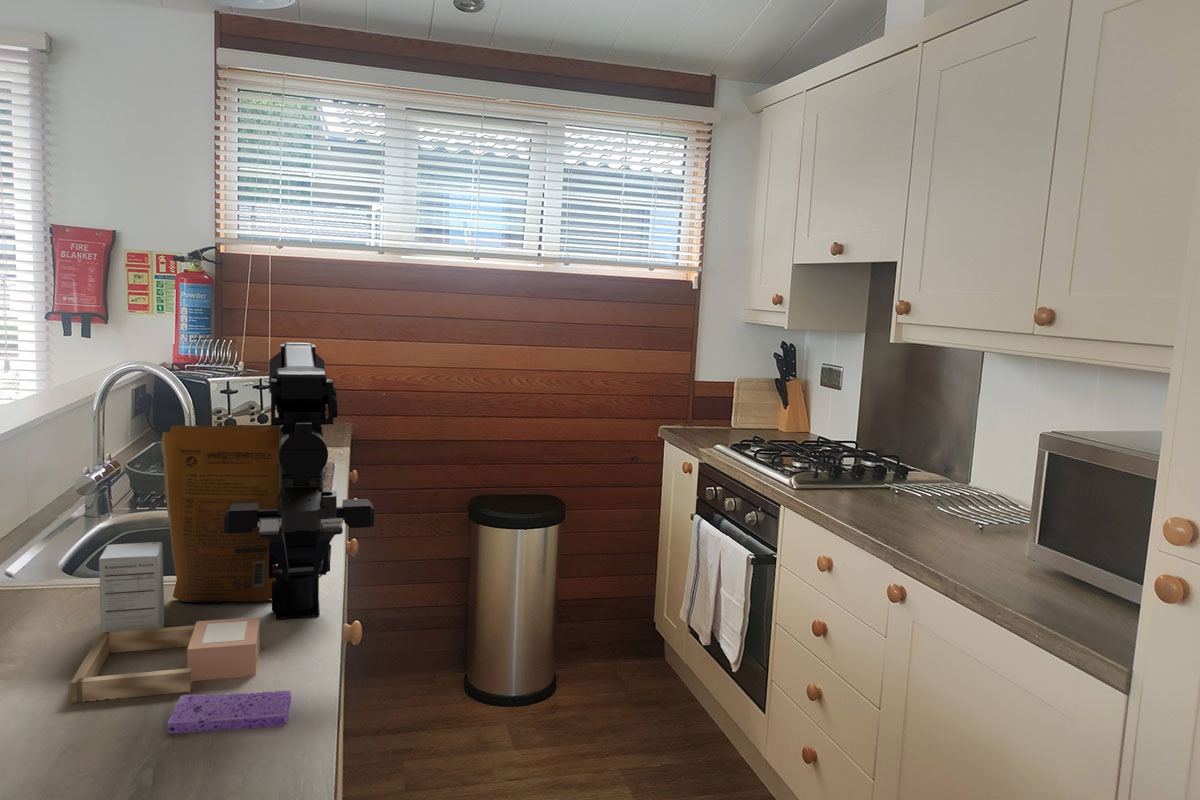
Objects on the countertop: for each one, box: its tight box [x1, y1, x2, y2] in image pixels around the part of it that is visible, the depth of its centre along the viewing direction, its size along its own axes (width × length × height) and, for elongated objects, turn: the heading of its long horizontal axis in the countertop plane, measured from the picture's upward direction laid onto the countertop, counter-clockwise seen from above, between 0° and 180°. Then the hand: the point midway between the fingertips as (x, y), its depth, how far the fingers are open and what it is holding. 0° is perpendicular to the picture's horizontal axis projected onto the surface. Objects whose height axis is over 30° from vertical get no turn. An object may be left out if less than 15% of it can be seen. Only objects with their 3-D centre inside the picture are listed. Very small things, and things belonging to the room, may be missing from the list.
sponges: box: [167, 690, 292, 734], centre depth 101 cm, size 7×13×2 cm, turn 104°
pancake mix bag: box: [160, 424, 282, 603], centre depth 138 cm, size 7×19×28 cm, turn 96°
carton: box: [186, 616, 261, 682], centre depth 115 cm, size 8×10×5 cm
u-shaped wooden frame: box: [70, 624, 196, 704], centre depth 112 cm, size 13×16×2 cm
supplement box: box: [98, 541, 165, 633], centre depth 122 cm, size 7×7×13 cm
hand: (301, 577), depth 117 cm, fingers open, 3 cm apart
